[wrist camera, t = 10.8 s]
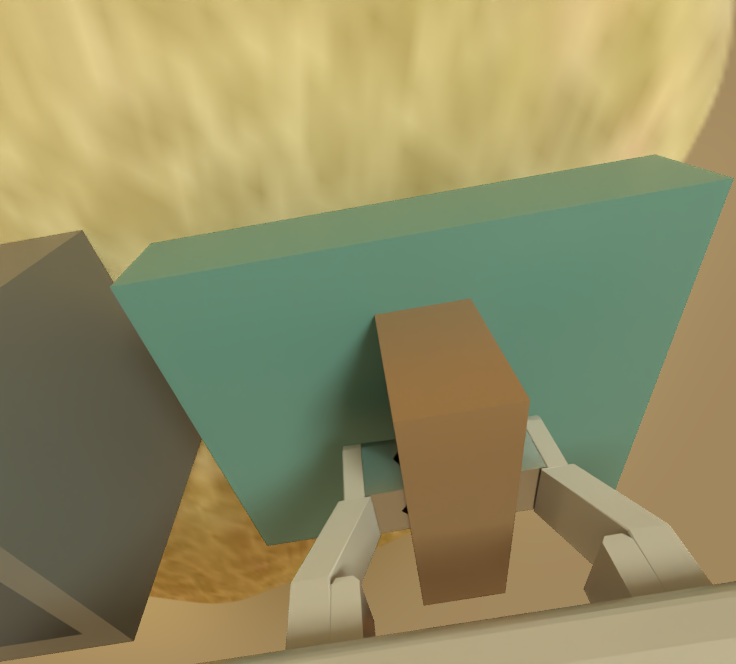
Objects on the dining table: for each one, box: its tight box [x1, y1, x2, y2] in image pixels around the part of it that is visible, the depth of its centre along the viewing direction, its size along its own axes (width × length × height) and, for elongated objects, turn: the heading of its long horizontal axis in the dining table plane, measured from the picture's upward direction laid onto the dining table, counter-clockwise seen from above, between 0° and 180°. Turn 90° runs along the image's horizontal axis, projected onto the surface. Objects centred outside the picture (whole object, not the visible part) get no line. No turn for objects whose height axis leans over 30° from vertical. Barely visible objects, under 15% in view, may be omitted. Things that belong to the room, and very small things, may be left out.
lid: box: [110, 155, 734, 605], centre depth 12 cm, size 14×12×6 cm
